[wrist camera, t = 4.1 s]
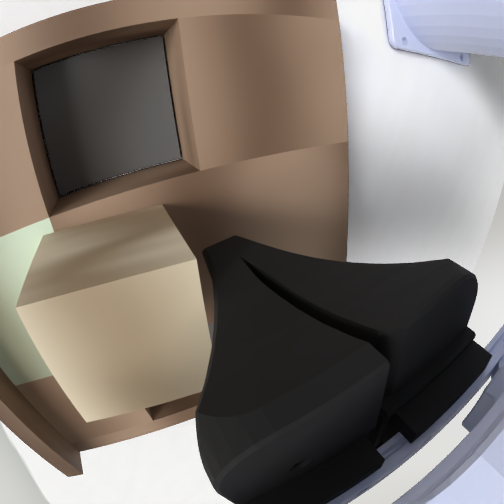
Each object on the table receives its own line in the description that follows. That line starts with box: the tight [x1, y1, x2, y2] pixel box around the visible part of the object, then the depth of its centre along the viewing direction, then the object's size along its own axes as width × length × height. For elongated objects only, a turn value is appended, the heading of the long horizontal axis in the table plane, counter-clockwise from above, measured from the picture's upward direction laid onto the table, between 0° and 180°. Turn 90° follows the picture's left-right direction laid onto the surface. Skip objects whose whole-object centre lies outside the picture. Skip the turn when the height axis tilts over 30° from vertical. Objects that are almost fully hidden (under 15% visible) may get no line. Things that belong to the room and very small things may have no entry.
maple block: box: [15, 204, 212, 422], centre depth 8 cm, size 4×4×4 cm
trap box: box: [0, 0, 349, 477], centre depth 11 cm, size 17×18×4 cm
